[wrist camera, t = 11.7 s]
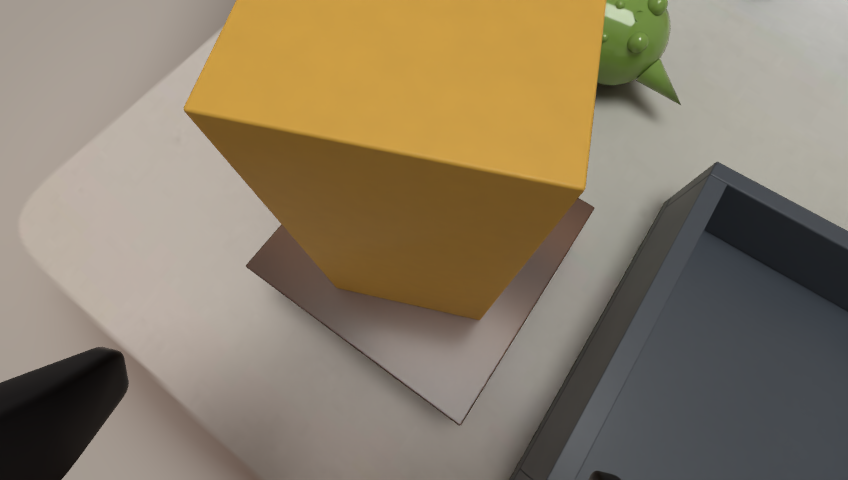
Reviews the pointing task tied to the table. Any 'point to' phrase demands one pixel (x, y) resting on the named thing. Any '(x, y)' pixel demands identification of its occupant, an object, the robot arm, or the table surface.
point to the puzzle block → (408, 133)
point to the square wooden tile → (421, 318)
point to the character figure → (635, 45)
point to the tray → (713, 350)
